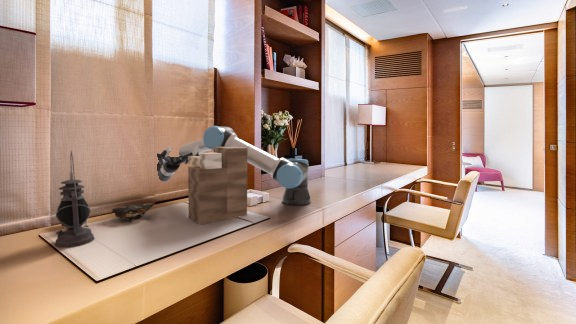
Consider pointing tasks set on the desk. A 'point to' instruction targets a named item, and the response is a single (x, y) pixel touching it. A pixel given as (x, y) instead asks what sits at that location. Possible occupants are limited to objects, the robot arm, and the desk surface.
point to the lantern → (73, 214)
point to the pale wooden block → (206, 160)
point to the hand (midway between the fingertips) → (184, 147)
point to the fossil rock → (132, 211)
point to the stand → (219, 188)
